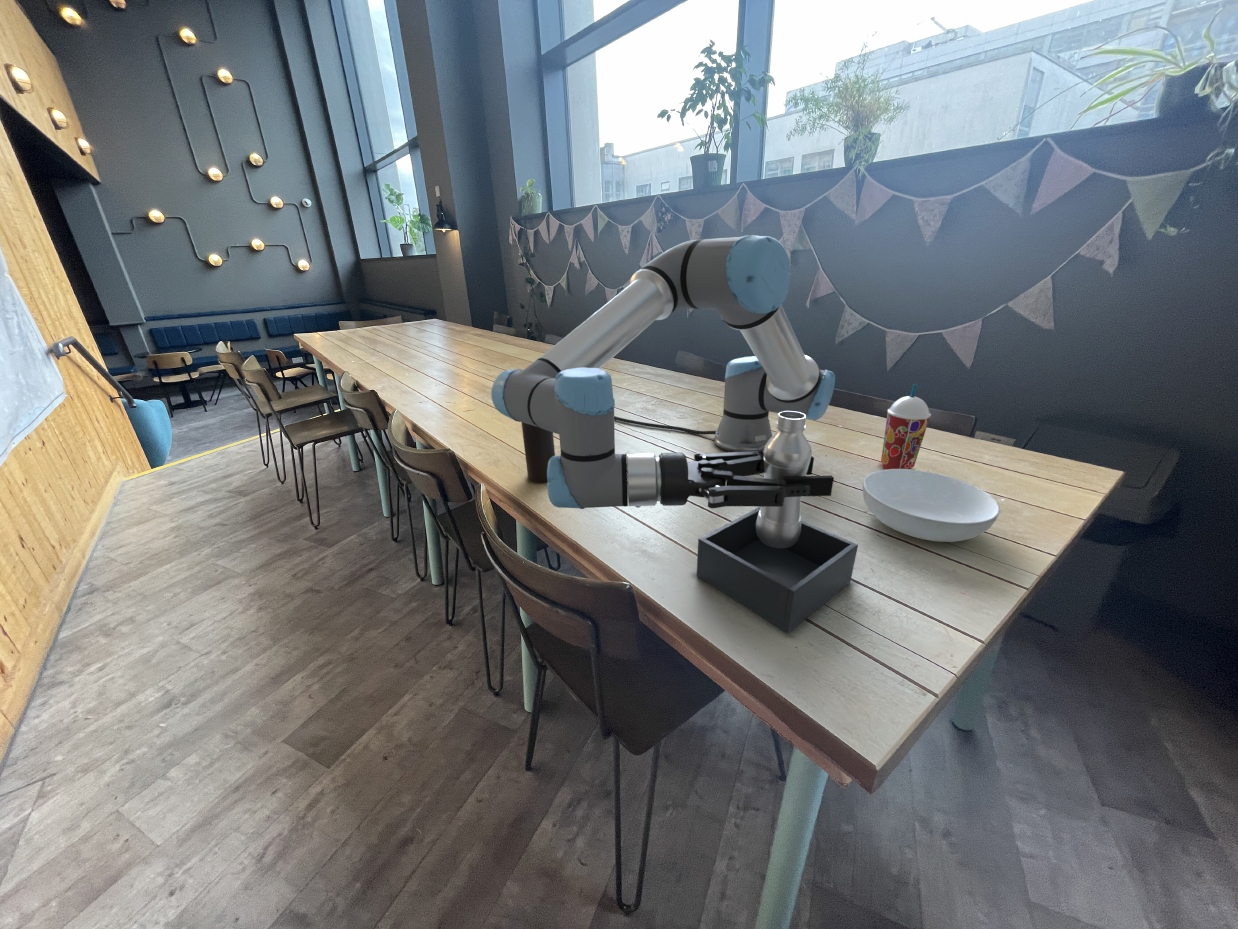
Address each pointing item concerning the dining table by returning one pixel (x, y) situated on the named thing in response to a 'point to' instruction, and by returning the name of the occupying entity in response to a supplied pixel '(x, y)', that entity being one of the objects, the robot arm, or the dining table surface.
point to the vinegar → (537, 451)
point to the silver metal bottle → (782, 459)
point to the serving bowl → (929, 504)
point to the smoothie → (904, 432)
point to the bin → (776, 569)
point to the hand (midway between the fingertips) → (820, 475)
